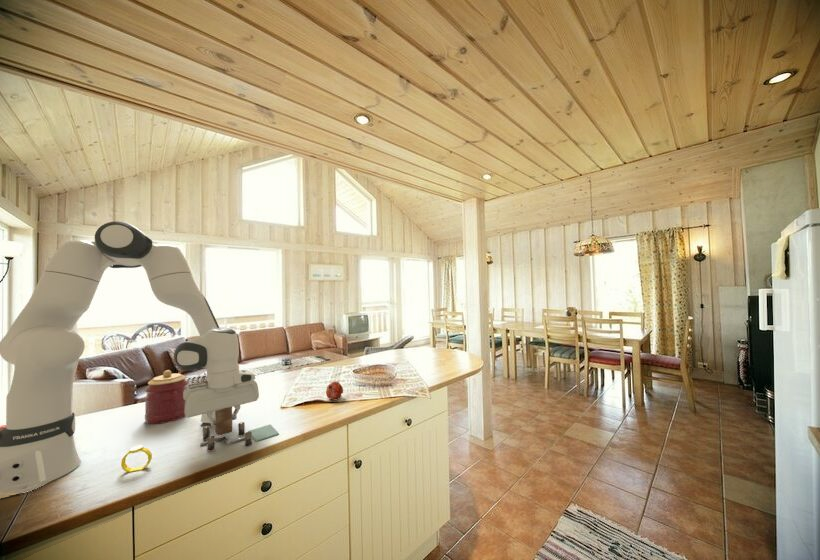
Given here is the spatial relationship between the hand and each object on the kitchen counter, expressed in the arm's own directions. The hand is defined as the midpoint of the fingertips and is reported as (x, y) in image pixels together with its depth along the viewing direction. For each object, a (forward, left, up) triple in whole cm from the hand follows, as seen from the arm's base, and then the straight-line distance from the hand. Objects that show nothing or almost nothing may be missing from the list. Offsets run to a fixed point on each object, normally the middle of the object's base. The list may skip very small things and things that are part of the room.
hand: (223, 422), depth 96 cm
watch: (-21, -3, -6) cm, 22 cm away
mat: (+10, -5, -5) cm, 13 cm away
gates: (0, -3, -5) cm, 6 cm away
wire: (0, -3, -5) cm, 6 cm away
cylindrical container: (-1, +18, -5) cm, 19 cm away
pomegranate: (+42, +7, -6) cm, 43 cm away
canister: (-13, +35, -6) cm, 38 cm away
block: (0, 0, -3) cm, 3 cm away
